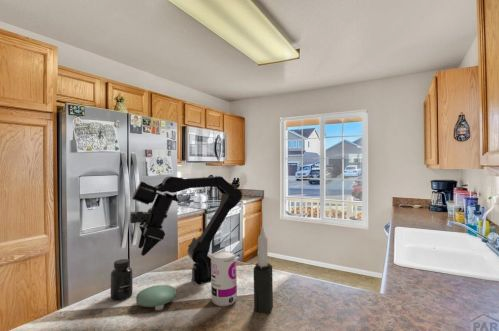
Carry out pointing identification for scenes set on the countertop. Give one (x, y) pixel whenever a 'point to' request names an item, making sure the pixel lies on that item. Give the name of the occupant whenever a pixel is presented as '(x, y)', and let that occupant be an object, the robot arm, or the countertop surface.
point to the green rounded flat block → (156, 296)
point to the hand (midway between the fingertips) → (141, 251)
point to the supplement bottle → (121, 280)
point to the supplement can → (223, 278)
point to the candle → (263, 278)
